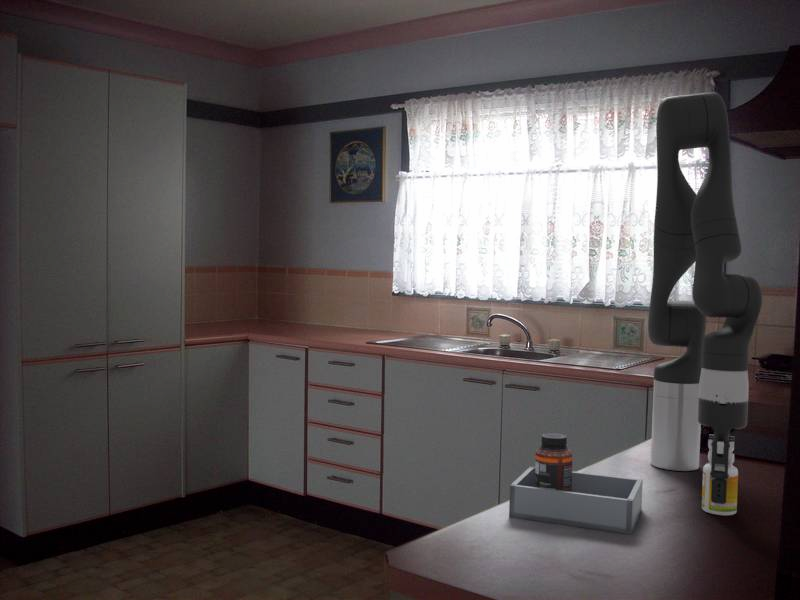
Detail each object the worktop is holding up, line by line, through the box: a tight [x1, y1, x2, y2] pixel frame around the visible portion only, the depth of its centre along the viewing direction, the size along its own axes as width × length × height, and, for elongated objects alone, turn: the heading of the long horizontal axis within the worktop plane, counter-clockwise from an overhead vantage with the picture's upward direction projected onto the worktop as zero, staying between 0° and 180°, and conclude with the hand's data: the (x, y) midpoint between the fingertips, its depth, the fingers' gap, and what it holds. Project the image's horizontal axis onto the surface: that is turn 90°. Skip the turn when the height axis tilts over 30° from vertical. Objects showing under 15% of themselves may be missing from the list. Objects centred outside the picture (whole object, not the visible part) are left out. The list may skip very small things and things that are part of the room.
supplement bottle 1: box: [534, 432, 573, 492], centre depth 133 cm, size 6×6×11 cm
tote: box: [508, 466, 644, 535], centre depth 131 cm, size 14×19×5 cm
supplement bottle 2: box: [701, 451, 739, 516], centre depth 134 cm, size 5×5×10 cm
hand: (719, 496), depth 134 cm, fingers open, 7 cm apart
